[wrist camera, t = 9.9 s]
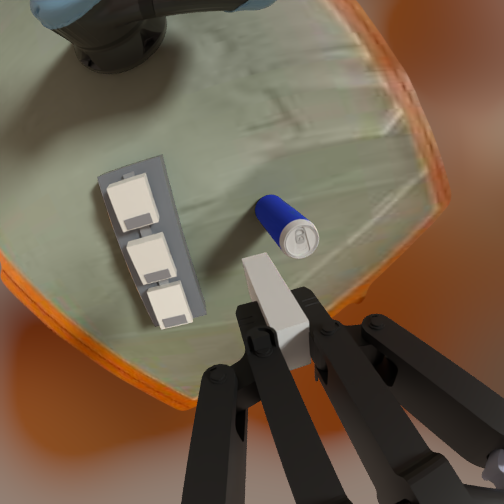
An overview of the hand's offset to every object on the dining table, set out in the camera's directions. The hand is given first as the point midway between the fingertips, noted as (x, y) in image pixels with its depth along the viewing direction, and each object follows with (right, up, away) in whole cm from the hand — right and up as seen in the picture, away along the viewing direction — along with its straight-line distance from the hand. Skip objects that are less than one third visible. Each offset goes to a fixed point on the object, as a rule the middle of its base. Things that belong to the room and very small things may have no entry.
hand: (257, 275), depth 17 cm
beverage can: (+2, +9, +30) cm, 31 cm away
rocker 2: (-15, +1, +23) cm, 28 cm away
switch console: (-17, +3, +28) cm, 33 cm away
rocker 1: (-17, +9, +19) cm, 27 cm away
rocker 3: (-14, -7, +27) cm, 31 cm away
